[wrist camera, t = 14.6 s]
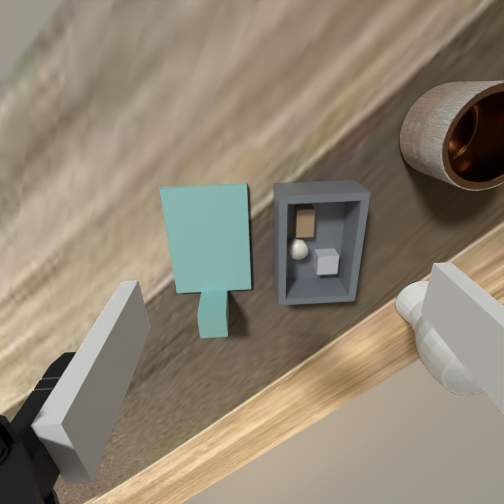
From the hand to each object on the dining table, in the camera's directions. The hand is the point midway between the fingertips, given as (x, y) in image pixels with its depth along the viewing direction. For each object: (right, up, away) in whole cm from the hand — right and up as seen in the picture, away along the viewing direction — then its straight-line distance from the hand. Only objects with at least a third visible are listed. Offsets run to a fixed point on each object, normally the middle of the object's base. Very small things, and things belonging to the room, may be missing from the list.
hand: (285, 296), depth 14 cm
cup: (+27, -6, +39) cm, 47 cm away
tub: (+7, +5, +32) cm, 33 cm away
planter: (+23, +18, +26) cm, 39 cm away
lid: (-8, +2, +32) cm, 33 cm away
